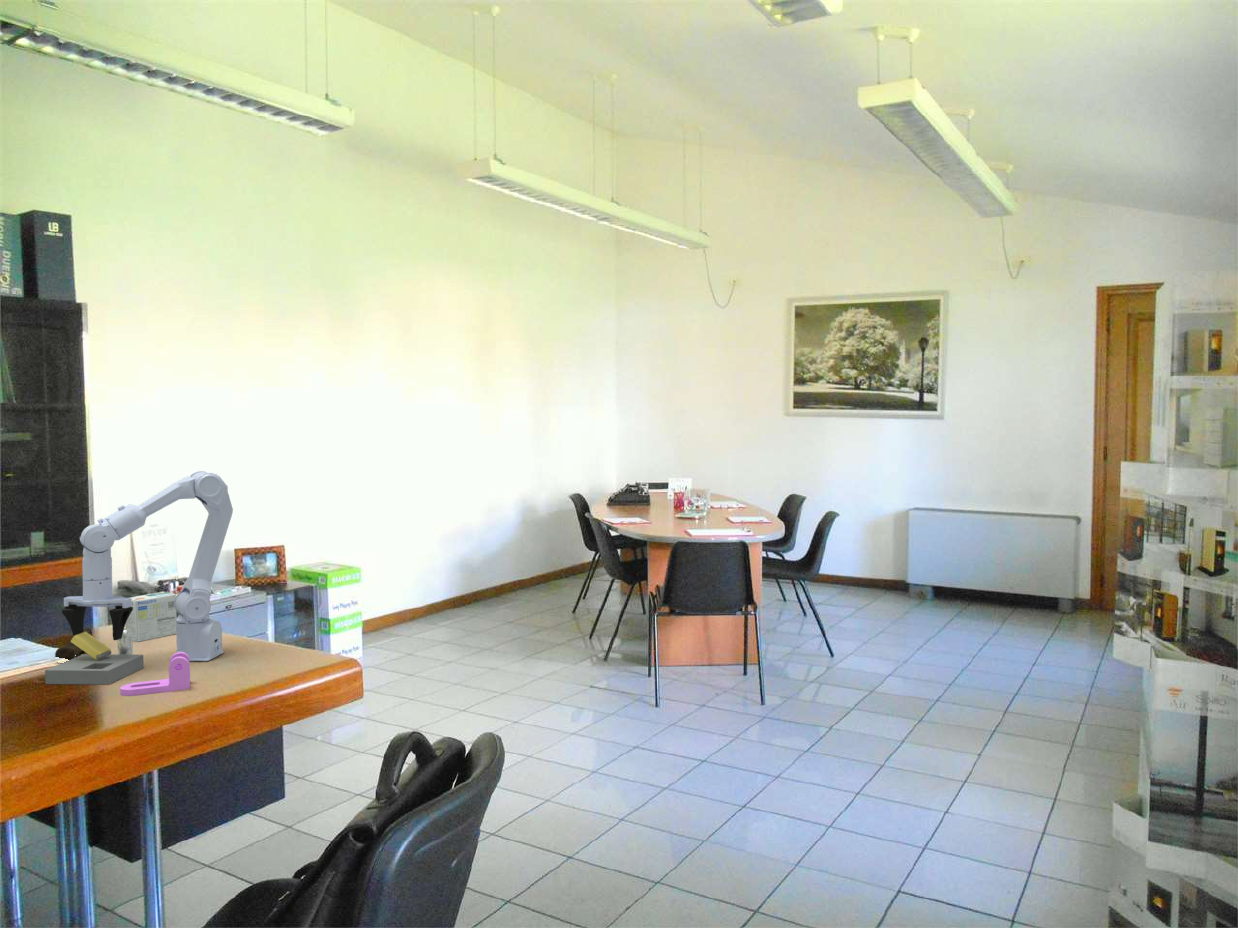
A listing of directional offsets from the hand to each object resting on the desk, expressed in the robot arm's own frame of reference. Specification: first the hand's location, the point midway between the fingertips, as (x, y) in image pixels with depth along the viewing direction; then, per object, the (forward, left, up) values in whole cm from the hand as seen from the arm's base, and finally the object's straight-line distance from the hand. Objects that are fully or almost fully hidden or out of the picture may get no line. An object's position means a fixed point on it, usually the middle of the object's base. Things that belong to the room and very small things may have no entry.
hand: (98, 638), depth 203 cm
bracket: (-20, +12, -8) cm, 25 cm away
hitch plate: (-1, +3, -8) cm, 8 cm away
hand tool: (+16, -16, -8) cm, 24 cm away
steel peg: (-2, -7, -8) cm, 10 cm away
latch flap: (+2, 0, -2) cm, 3 cm away
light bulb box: (+7, -33, -8) cm, 34 cm away
